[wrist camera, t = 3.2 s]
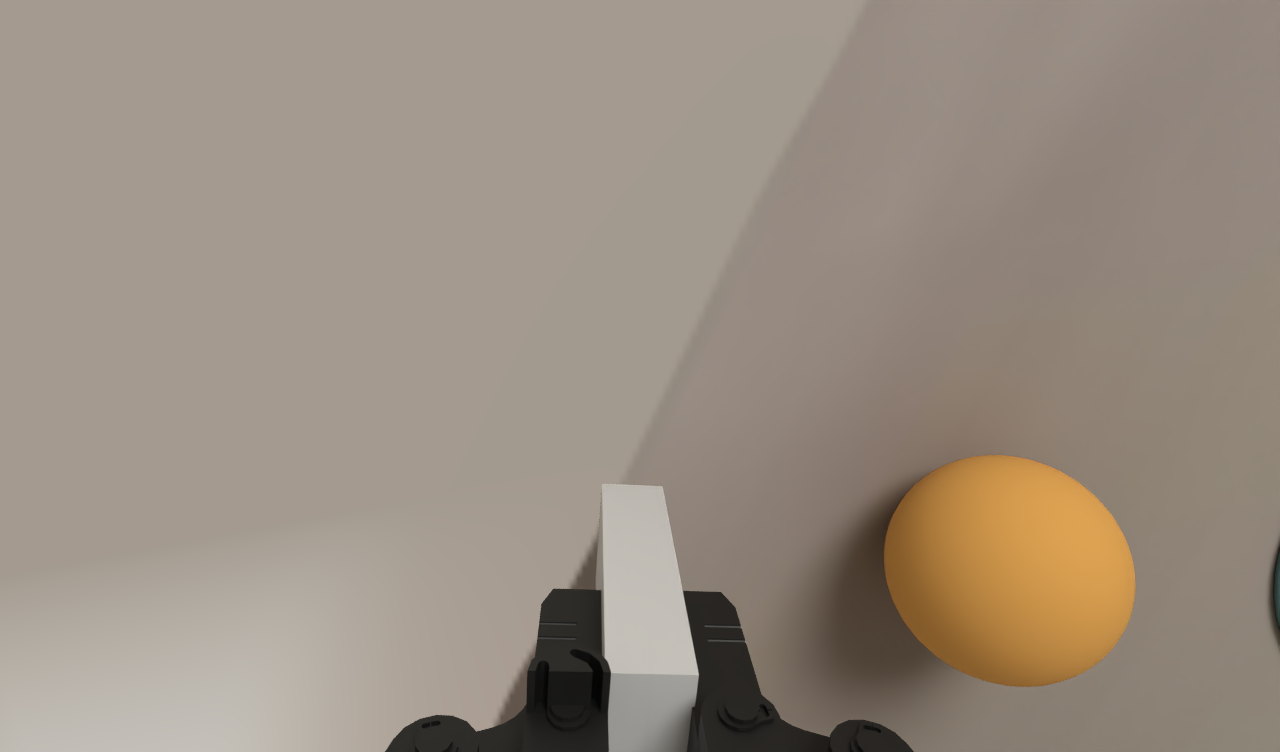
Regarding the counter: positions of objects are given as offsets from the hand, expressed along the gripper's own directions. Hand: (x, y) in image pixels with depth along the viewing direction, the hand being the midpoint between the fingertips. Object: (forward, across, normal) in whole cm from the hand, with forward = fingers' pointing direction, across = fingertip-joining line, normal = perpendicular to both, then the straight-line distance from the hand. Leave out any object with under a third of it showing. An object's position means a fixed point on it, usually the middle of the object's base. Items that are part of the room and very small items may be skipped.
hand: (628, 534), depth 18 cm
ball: (-1, +9, 0) cm, 9 cm away
